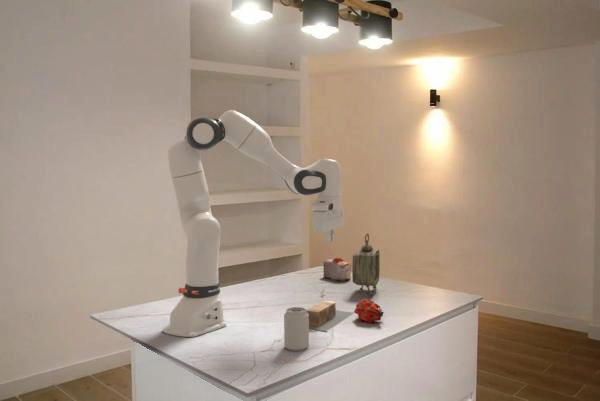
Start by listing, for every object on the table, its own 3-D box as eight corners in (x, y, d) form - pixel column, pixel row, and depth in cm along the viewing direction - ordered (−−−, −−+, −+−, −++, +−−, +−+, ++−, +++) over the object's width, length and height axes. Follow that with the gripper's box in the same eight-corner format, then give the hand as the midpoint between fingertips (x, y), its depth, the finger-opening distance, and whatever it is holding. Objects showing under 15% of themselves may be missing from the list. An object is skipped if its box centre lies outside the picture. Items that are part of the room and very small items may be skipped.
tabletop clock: (373, 296, 231) (373, 236, 229) (351, 295, 234) (351, 235, 232) (379, 288, 245) (379, 231, 243) (359, 287, 248) (359, 230, 245)
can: (308, 343, 176) (308, 305, 175) (309, 351, 169) (309, 312, 168) (284, 343, 176) (283, 306, 175) (284, 352, 168) (284, 313, 167)
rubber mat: (326, 332, 186) (326, 331, 186) (289, 326, 193) (289, 325, 193) (354, 313, 207) (354, 312, 207) (320, 308, 214) (320, 307, 214)
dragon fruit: (357, 321, 204) (381, 334, 194) (344, 311, 199) (368, 324, 189) (369, 300, 205) (393, 313, 196) (357, 290, 200) (381, 302, 191)
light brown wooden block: (335, 315, 204) (318, 326, 191) (323, 313, 206) (305, 324, 194) (335, 302, 203) (318, 312, 191) (323, 300, 206) (305, 310, 193)
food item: (354, 279, 263) (354, 258, 262) (343, 282, 257) (343, 261, 256) (331, 275, 272) (331, 255, 271) (320, 278, 266) (320, 257, 266)
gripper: (333, 201, 212) (333, 237, 214) (308, 205, 195) (308, 245, 196) (348, 201, 210) (348, 238, 211) (325, 206, 192) (325, 246, 193)
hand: (329, 242), depth 203 cm, fingers closed
